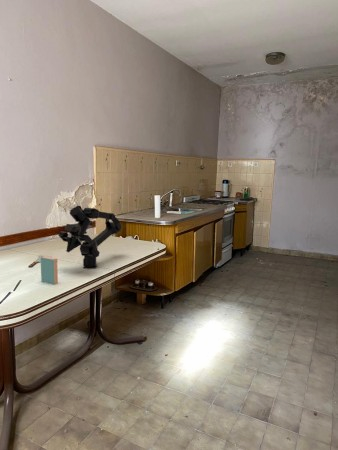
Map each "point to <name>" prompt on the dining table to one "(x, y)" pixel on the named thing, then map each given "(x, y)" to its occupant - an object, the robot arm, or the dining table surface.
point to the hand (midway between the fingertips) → (67, 251)
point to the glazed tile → (49, 270)
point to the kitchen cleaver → (37, 261)
